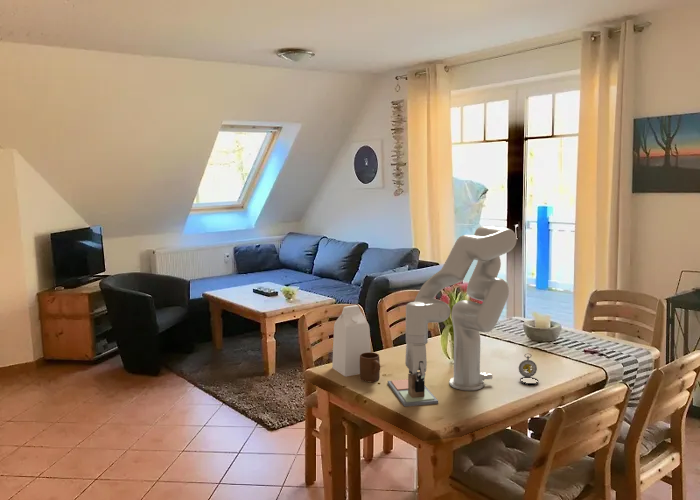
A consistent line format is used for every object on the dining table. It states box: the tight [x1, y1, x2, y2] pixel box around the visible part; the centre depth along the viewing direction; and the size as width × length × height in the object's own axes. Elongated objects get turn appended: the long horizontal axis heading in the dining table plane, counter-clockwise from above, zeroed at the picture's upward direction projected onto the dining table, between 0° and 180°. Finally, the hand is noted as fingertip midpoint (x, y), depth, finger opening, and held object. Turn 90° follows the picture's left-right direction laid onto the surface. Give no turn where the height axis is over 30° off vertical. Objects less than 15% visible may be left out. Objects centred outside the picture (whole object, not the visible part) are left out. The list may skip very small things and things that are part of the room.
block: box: [407, 373, 426, 398], centre depth 205 cm, size 4×4×7 cm
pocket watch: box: [518, 352, 540, 385], centre depth 220 cm, size 8×8×10 cm
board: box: [387, 378, 439, 407], centre depth 211 cm, size 12×22×1 cm, turn 11°
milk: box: [331, 305, 372, 377], centre depth 235 cm, size 12×12×26 cm
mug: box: [359, 351, 381, 383], centre depth 223 cm, size 12×8×9 cm, turn 23°
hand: (416, 387), depth 205 cm, fingers open, 6 cm apart
